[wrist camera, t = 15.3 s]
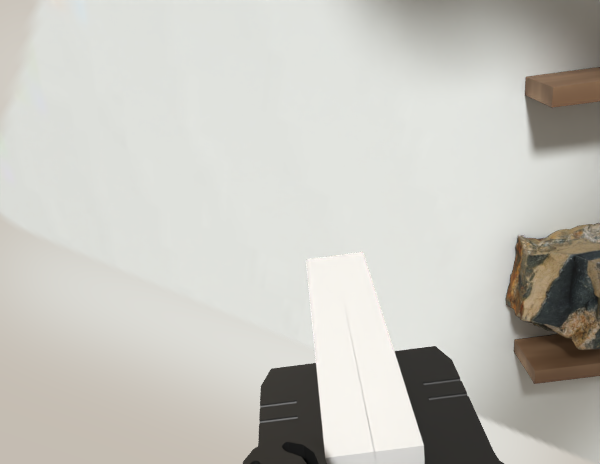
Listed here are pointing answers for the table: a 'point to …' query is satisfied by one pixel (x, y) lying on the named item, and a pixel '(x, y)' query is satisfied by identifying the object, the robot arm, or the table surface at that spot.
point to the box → (556, 348)
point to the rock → (560, 283)
